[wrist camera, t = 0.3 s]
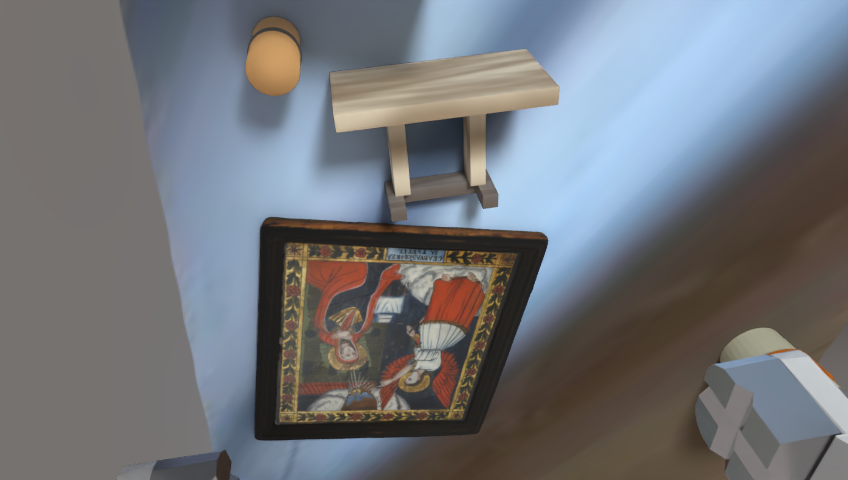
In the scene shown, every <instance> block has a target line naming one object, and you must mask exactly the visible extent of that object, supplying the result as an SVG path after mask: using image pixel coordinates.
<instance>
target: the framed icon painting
mask: <svg viewBox="0 0 848 480" xmlns="http://www.w3.org/2000/svg"><path fill="white" fill-rule="evenodd" d="M547 245H548V238H547V237H546V236H545V235H544V234H543V233H541V232H527V231H510V230H489V229H473V228H457V227H433V226H411V225H395V224H381V223H366V222H342V221H327V220H311V219H289V218H279V217H269V218H266V219H265V221H264V222H263V224H262V226H261V230H260V274H259V304H258V341H257V372H256V403H255V438H256V439H258V440H306V439H344V438H385V437H422V436H448V435H468V434H476V433H478V432H479V431H480V429H481V426H482V424H483V422H484V419H485V416H486V414H487V411H488V409H489V406H490V403H491V401H492V398H493V396H494V393H495V390H496V387H497V385H498V382H499V379H500V376H501V373H502V371H503V368H504V366H505V363H506V360H507V357H508V354H509V352H510V349H511V346H512V343H513V340H514V338H515V335H516V332H517V330H518V327H519V324H520V322H521V319H522V316H523V313H524V311H525V308H526V305H527V302H528V300H529V297H530V294H531V292H532V290H533V287H534V284H535V281H536V278H537V274H538V272H539V269H540V266H541V263H542V260H543V258H544V255H545V252H546V249H547Z"/></svg>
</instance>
